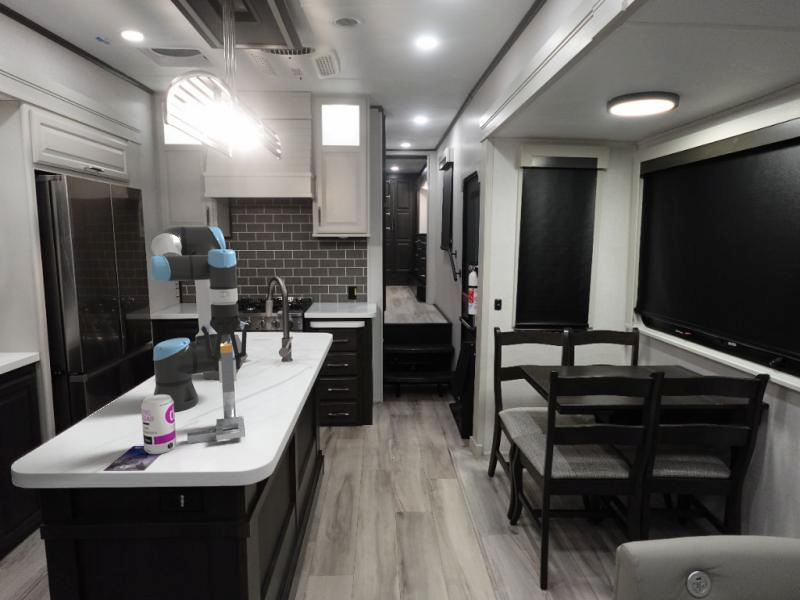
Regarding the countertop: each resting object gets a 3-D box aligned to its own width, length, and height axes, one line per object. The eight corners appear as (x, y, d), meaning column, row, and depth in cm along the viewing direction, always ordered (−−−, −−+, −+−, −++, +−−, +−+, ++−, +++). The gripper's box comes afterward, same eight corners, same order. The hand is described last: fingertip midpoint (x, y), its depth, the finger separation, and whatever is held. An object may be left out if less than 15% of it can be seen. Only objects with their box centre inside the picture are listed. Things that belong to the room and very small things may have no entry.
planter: (188, 368, 200) (213, 327, 197) (196, 362, 208) (220, 323, 205) (223, 390, 201) (248, 350, 198) (230, 384, 209) (254, 345, 206)
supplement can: (181, 442, 142) (177, 393, 140) (168, 455, 134) (165, 403, 132) (153, 442, 142) (149, 393, 140) (139, 455, 134) (135, 403, 132)
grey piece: (186, 449, 138) (183, 395, 135) (190, 426, 154) (187, 377, 151) (245, 441, 143) (243, 389, 141) (242, 419, 159) (240, 372, 157)
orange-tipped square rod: (222, 392, 142) (220, 346, 140) (222, 389, 145) (220, 343, 143) (234, 391, 143) (232, 345, 141) (234, 388, 146) (232, 343, 144)
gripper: (193, 306, 134) (198, 387, 137) (254, 303, 140) (257, 381, 143) (194, 302, 141) (199, 379, 144) (252, 299, 147) (255, 374, 150)
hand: (228, 380), depth 144 cm, fingers closed on orange-tipped square rod, 3 cm apart
